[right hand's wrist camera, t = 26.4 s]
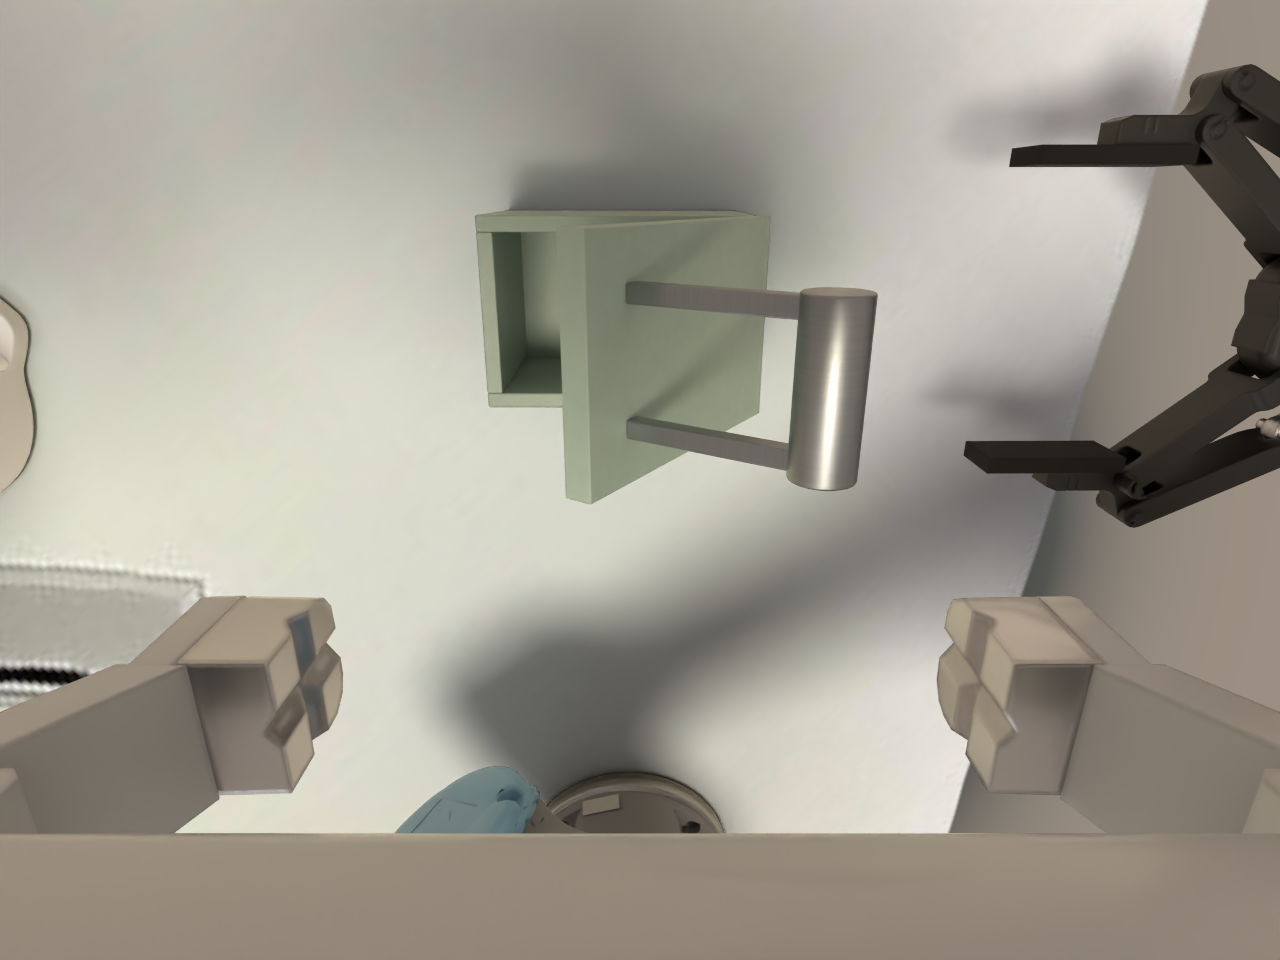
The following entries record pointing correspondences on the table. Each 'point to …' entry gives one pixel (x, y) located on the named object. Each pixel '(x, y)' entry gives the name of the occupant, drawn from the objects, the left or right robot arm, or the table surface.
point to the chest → (535, 296)
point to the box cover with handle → (699, 354)
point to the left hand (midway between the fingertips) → (998, 316)
